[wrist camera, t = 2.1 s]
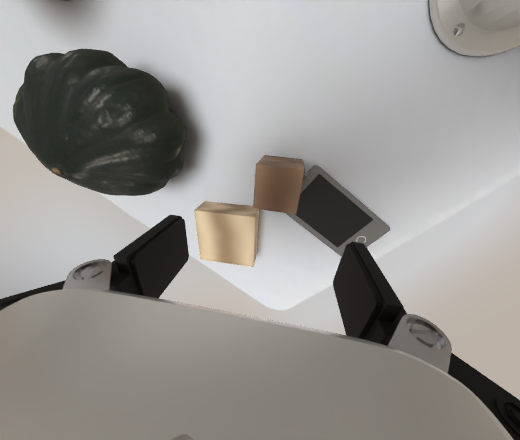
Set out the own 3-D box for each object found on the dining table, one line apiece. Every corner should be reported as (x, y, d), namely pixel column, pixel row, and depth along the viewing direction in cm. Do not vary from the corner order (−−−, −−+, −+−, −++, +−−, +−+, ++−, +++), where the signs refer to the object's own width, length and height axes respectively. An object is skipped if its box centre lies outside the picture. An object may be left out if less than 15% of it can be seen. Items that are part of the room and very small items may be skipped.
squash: (22, 7, 17) (-116, 125, 12) (175, 24, 17) (97, 157, 12) (124, 129, 31) (78, 210, 26) (211, 141, 30) (183, 228, 25)
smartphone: (276, 205, 29) (276, 207, 28) (314, 162, 25) (315, 163, 25) (345, 258, 31) (347, 261, 31) (389, 226, 28) (391, 229, 27)
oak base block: (259, 206, 29) (255, 217, 26) (257, 252, 33) (253, 266, 30) (205, 200, 30) (194, 210, 27) (209, 245, 34) (200, 259, 31)
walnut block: (301, 159, 25) (304, 170, 19) (295, 194, 27) (296, 214, 21) (265, 155, 25) (256, 164, 19) (261, 190, 28) (253, 208, 22)
